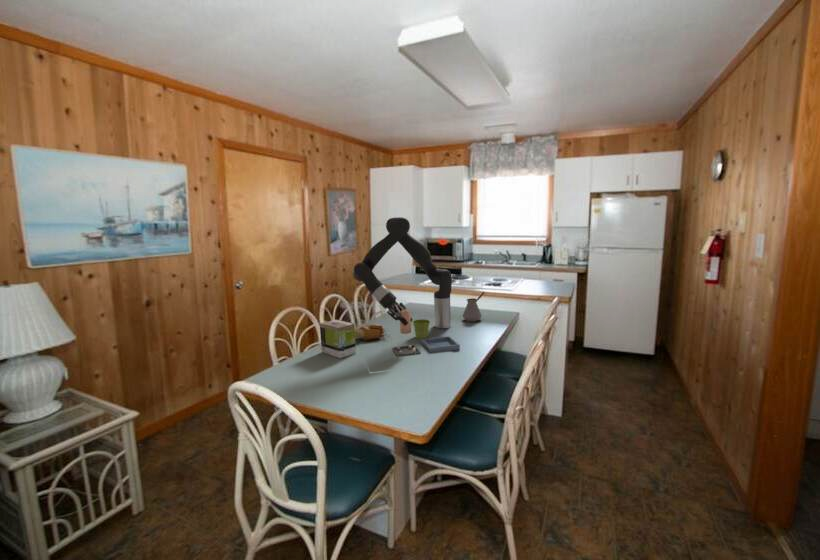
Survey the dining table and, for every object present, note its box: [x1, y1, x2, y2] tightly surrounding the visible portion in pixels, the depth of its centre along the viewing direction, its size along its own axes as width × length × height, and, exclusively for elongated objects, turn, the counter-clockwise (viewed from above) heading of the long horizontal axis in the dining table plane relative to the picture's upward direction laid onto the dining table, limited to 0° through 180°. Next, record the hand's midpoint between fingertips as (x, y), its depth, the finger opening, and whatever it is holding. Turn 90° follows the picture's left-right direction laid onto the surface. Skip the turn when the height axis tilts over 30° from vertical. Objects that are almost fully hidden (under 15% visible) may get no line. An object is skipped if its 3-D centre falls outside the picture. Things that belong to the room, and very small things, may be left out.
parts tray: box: [392, 344, 421, 357], centre depth 187 cm, size 11×11×2 cm
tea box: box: [319, 319, 357, 359], centre depth 188 cm, size 15×10×15 cm
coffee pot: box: [462, 291, 487, 323], centre depth 242 cm, size 21×12×15 cm, turn 141°
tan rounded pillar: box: [399, 308, 412, 335], centre depth 185 cm, size 5×5×11 cm
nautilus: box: [355, 323, 391, 341], centre depth 208 cm, size 8×22×15 cm
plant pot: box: [411, 318, 431, 339], centre depth 208 cm, size 9×9×9 cm
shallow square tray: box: [421, 335, 461, 353], centre depth 193 cm, size 15×15×2 cm
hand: (409, 322), depth 184 cm, fingers closed on tan rounded pillar, 5 cm apart
